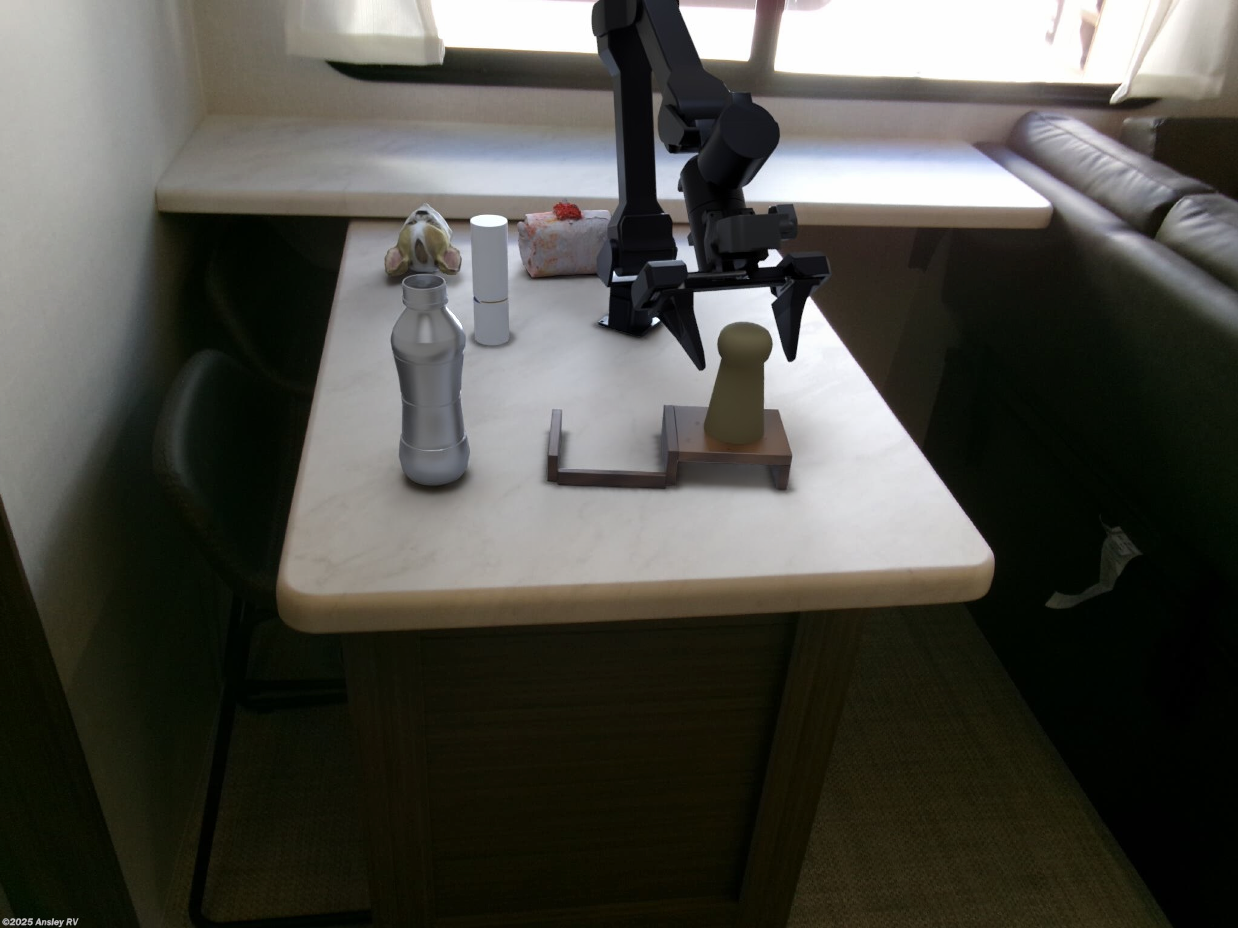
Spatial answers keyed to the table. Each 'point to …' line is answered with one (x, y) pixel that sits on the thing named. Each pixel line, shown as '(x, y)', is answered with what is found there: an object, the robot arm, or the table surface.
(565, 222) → the food item
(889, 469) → the table surface
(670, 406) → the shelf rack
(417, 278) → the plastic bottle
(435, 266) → the ceramic sculpture
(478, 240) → the tube
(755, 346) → the olive green pawn
